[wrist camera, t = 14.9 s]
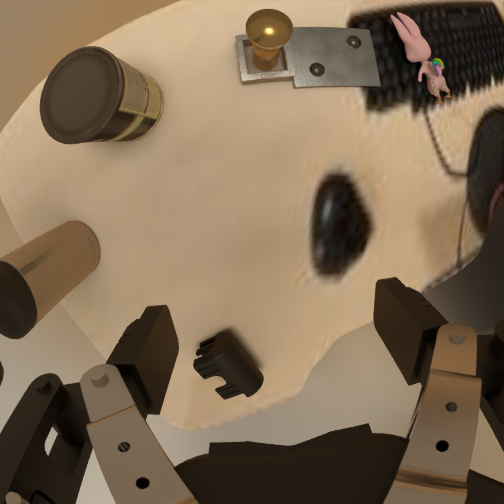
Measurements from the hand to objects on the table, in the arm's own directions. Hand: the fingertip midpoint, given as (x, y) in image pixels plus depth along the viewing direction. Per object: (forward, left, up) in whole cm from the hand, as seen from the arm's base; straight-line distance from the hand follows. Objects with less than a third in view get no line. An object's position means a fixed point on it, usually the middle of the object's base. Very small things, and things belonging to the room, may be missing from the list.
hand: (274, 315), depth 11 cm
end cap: (-8, -26, -30) cm, 40 cm away
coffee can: (-16, +15, -30) cm, 37 cm away
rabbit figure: (+26, +19, -30) cm, 44 cm away
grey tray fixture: (+9, +18, -30) cm, 36 cm away
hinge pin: (+3, +18, -30) cm, 35 cm away
